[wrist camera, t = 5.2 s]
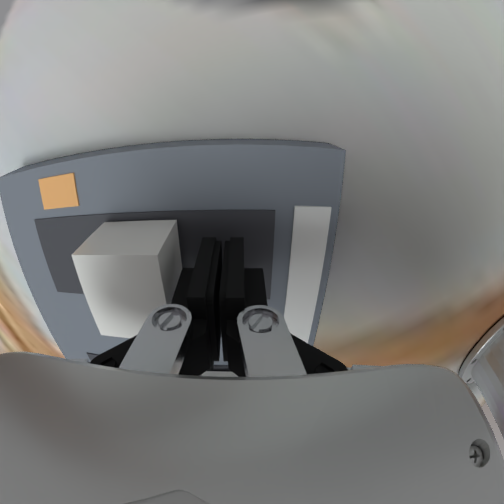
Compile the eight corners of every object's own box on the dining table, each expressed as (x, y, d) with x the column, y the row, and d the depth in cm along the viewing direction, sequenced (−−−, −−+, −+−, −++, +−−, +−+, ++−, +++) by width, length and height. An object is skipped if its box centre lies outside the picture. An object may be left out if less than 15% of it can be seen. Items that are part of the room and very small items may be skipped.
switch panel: (328, 143, 12) (346, 150, 10) (290, 390, 22) (294, 414, 20) (22, 166, 12) (-4, 178, 9) (100, 379, 21) (93, 400, 19)
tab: (176, 219, 11) (157, 255, 8) (186, 296, 13) (175, 341, 10) (104, 222, 11) (71, 255, 8) (121, 294, 13) (101, 335, 10)
